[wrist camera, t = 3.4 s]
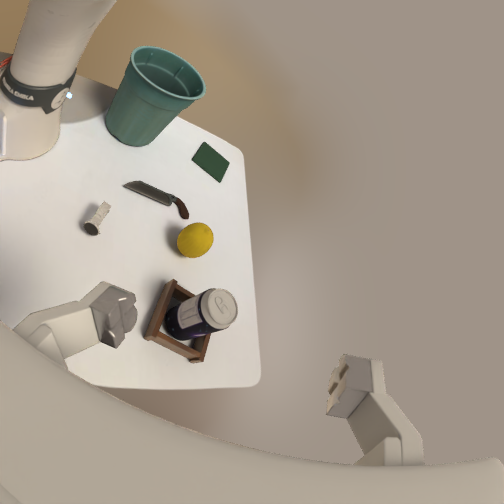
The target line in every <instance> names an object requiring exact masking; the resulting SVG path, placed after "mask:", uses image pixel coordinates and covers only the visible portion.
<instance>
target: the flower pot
mask: <svg viewBox="0 0 504 504" xmlns="http://www.w3.org/2000/svg"><path fill="white" fill-rule="evenodd" d="M205 93H206V86H205V83H204V80H203V79H202V77H201V75H200V74H199V73H198V71H197V70H196V69H195V68H194V67H193V66H192V65H191V64H189V63H188V62H187V61H186V60H184V59H183V58H181V57H179V56H178V55H176V54H174V53H172V52H170V51H168V50H165V49H162V48H159V47H154V46H141V47H138V48H136V49H134V50H133V52H132V53H131V57H130V62H129V64H128V66H127V68H126V71H125V76H124V78H123V80H122V82H121V84H120V86H119V88H118V90H117V93H116V95H115V97H114V99H113V101H112V104H111V106H110V108H109V110H108V113H107V115H106V125H107V128H108V130H109V131H110V133H111V134H112V135H115V136H116V137H117V138H118V139H119V141H121V142H123V143H125V144H127V145H131V146H145V145H148V144H149V143H151V142H152V141H153V140H154V139H155V138H156V137H157V136H158V135H159V134H160V132H161V131H162V130H163V129H164V128H165V127H166V126H167V125H168V124H169V123H170V122H171V121H172V120H173V119H174V118H175V117H176V116H177V115H178V114H179V113H180V112H181V111H182V110H184V109H186V108H187V107H188V106H190V105H191V104H192V103H193V102H194V101H195V100H198V99H200V98H202V97H203V96H204V95H205Z"/></svg>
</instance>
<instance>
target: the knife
mask: <svg viewBox="0 0 504 504" xmlns="http://www.w3.org/2000/svg"><path fill="white" fill-rule="evenodd" d="M124 186H125V187H127V188H129V189H132V190H134V191H136V192H138V193H141V194H143V195H145V196H147V197H150V198H152V199H154V200H156V201H159V202H161V203H163V204H165V205H168V206H170V205H171V204H172V202H175V203H176V204H177V205H178V206H179V210H180V214H181V217H182V218H184V219H188V218H189V213H188V210H187V208H186V206H185V204H184V203H183V202H182V201H181V200H180V199H179V198H177V197H175V196H174V195H172V194H168V193H165V192H163V191H161V190H159V189H157V188H155V187H153V186H150V185H148V184H146V183H144V182H142V181H133V182H130V183H127V184H125V185H124ZM171 197H173V199H172V198H171Z"/></svg>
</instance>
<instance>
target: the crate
mask: <svg viewBox="0 0 504 504" xmlns="http://www.w3.org/2000/svg"><path fill="white" fill-rule="evenodd" d="M172 296H173V297H174V298H176V299H177V300H179V301H181V302H184V301H186V300H188V299H190V298H192V297H194V296H195V295H194V294H192V293H191V292H189V291H187V290H186V289H184V288H183V287H181V286H179V285H178V284H177V281H176V280H174V279H173V280H171V281H170V282H168V283H167V284H165V286H164V288H163V291H162V293H161V296H160V298H159V301H158V303H157V305H156V308H155V310H154V313H153V316H152V318H151V321H150V323H149V326H148V328H147V331H146V334H145V336H144V339H145V340H147V341H149V340H153V341H154V342H156V343H158V344H160V345H162V346H164V347H166V348H168V349H170V350H172V351H174V352H176V353H178V354H180V355H182V356H184V357H186V358H188V359H190V360H189V362H191V363H198V362H203V361H204V357H205V353H206V350H207V346H208V343H209V339H210V335H211V333H210V334H207V335H203V336H200V337H196V340H195V344H194V347H193V349H192V348H190V347H188V346H186V345H184V344H182V343H180V342H178V341H176V340H174V339H172V338H170V337H169V336H167V335H165V334H163V333H161V332H159V329H160V326H161V324H162V321H163V318H164V315H165V313H166V310H167V308H168V305H169V302H170V300H171V297H172Z"/></svg>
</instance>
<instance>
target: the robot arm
mask: <svg viewBox="0 0 504 504" xmlns="http://www.w3.org/2000/svg"><path fill="white" fill-rule="evenodd" d="M116 1H117V0H30V1H29V5H28V9H27V13H26V16H25V19H24V22H23V25H22V28H21V31H20V34H19V37H18V40H17V43H16V47H15V51H14V54H12V56H11V57H9V58H7V59H5V60H3V61H2V62H0V63H3V62H4V63H3V64H2V65H1V66H0V68H1V67H3V66H5V65H7V64H8V65H7V67H6V68H5V69H4V70H2V71H0V161H3V160H6V159H12V160H28V159H33V158H36V157H38V156H41V155H43V154H44V153H46V152H47V151H49V150H50V149H51V148H52V147H53V146H54V145H55V143H56V142H57V140H58V138H59V134H60V116H61V109H62V105H63V102H64V100H65V98H66V96H67V97H68V98H71V96H72V94H70V93H68V92H69V89H70V87H71V84H72V82H73V79H74V77H75V74H76V70H77V68H76V66H77V64H78V62H79V60H80V58H81V55H82V53H83V51H84V49H85V47H86V45H87V43H88V41H89V39H90V37H91V36H92V34H93V32H94V31H95V29H96V27H97V26H98V24H99V23H100V22H101V20H102V19H103V18H104V16H105V15H106V14H107V13H108V11H109V10H110V9H111V7H112V6H113V5H114V3H115V2H116ZM135 302H136V298H135V294H133V293H132V292H129V291H127V290H124V289H122V288H119V287H117V286H115V285H112V284H109V283H107V282H105V281H104V282H100V283H99V284H98V285H97V286H96V287H95V288H94V289H93V290H91V291H90V292H89V293H88V294H87V295H86V296H85V297H84V298H83V299H81V300H80V301H79V302H78V301H73V302H70V303H66V304H63V305H59V306H56V307H52V308H49V309H45V310H42V311H38V312H35V313H31V314H30V315H28V316H27V317H26V318H25V319H24V320H23V321H22V322H21V323H20V324H19V325H17V326H16V327H15V328H14V329H13V330H11V329H10V328H9V327H8V326H7V325H5V324H4V323H3V322H2V321H1V320H0V504H504V465H503V464H502V463H501V462H500V461H499V460H498V459H497V458H495V457H488V458H484V459H477V460H472V461H464V462H457V463H449V464H438V465H424V454H423V443H422V437H421V436H420V434H419V433H418V432H417V430H416V429H415V428H414V426H413V425H412V424H411V422H410V421H409V420H408V418H407V417H406V416H405V415H404V413H403V412H402V411H401V409H400V408H399V407H398V405H397V404H396V403H395V402H394V400H393V399H392V398H391V396H390V395H386V389H385V380H384V373H383V365H382V362H381V361H380V360H374V359H368V358H362V357H357V356H352V355H347V354H343V355H342V357H341V358H340V360H339V366H338V367H336V368H335V369H334V371H333V372H332V374H331V378H330V380H329V385H328V392H329V393H330V395H331V396H330V397H329V399H328V400H327V413H326V415H330V416H334V417H340V418H346V419H347V421H348V423H349V425H350V427H351V429H352V431H353V433H354V435H355V437H356V439H357V441H358V443H359V445H360V447H361V449H362V451H363V453H364V455H365V456H363V457H362V458H361V459H360V460H358V461H357V462H356V463H355V464H353V465H350V464H339V463H329V462H322V461H314V460H308V459H301V458H295V457H290V456H284V455H280V454H275V453H270V452H266V451H261V450H257V449H253V448H249V447H245V446H241V445H238V444H234V443H231V442H227V441H224V440H220V439H217V438H214V437H211V436H208V435H205V434H202V433H199V432H196V431H193V430H190V429H187V428H185V427H182V426H179V425H177V424H174V423H171V422H169V421H167V420H164V419H162V418H159V417H157V416H155V415H152V414H150V413H148V412H146V411H143V410H141V409H139V408H137V407H135V406H133V405H130V404H128V403H126V402H124V401H122V400H120V399H118V398H116V397H114V396H112V395H110V394H108V393H107V392H105V391H103V390H101V389H99V388H97V387H96V386H94V385H92V384H90V383H89V382H87V381H85V380H83V379H82V378H80V377H78V376H77V375H75V374H73V373H72V372H70V371H69V370H68V367H67V365H66V362H65V360H64V359H66V358H68V357H70V356H72V355H74V354H76V353H78V352H80V351H82V350H85V349H87V348H89V347H91V346H93V345H95V344H97V343H99V341H100V342H102V343H104V344H107V345H109V346H111V347H113V348H116V349H117V347H118V346H119V345H120V344H121V342H122V341H123V340H124V339H125V335H124V333H127V332H130V331H131V330H132V328H133V327H134V325H135V323H136V320H137V309H136V308H135V306H134V305H133V304H134V303H135Z"/></svg>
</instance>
